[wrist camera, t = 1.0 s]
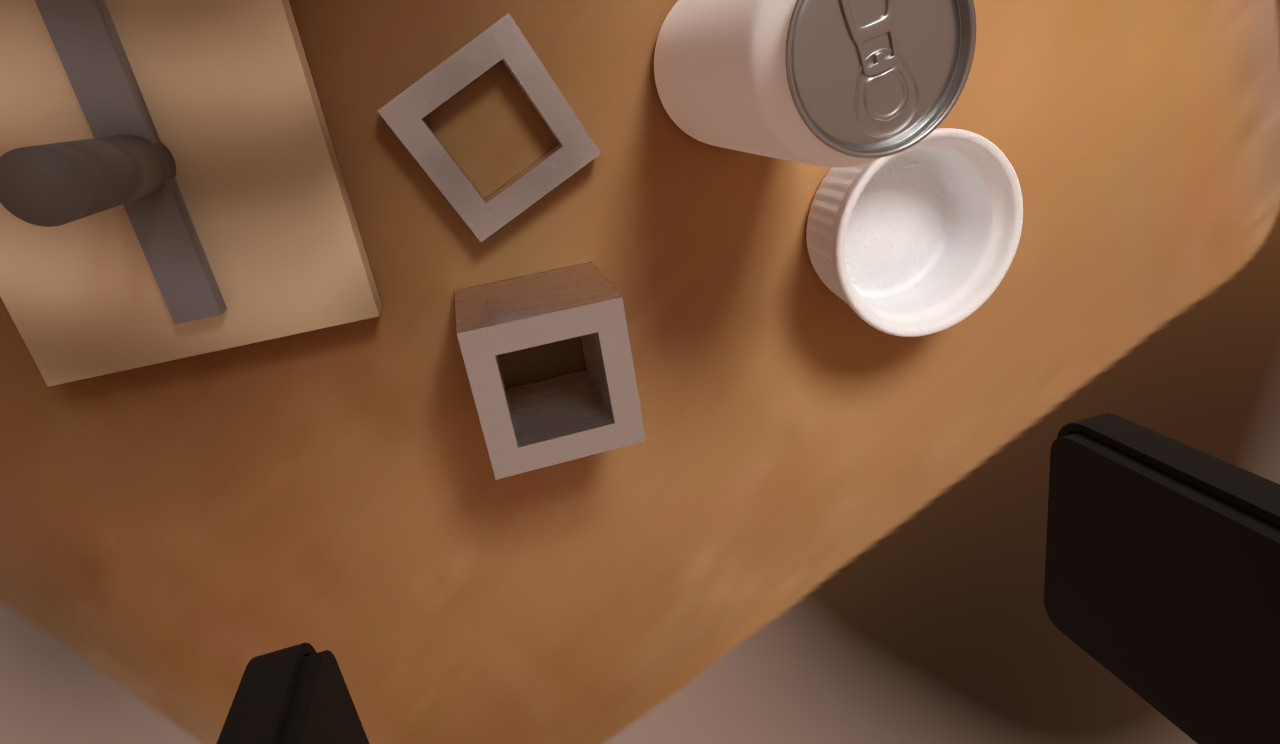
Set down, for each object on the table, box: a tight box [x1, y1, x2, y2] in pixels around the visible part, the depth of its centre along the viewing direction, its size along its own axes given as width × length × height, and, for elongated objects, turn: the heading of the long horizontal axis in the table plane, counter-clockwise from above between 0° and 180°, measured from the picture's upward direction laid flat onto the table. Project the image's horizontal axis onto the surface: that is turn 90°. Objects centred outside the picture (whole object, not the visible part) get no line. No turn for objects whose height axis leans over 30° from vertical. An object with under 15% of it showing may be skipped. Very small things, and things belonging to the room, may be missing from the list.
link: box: [455, 262, 646, 480], centre depth 29 cm, size 6×6×6 cm
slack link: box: [377, 13, 601, 242], centre depth 28 cm, size 6×6×1 cm
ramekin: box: [806, 128, 1023, 337], centre depth 32 cm, size 9×9×4 cm
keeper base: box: [0, 0, 382, 387], centre depth 22 cm, size 14×12×8 cm
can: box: [654, 0, 976, 168], centre depth 24 cm, size 6×6×12 cm
